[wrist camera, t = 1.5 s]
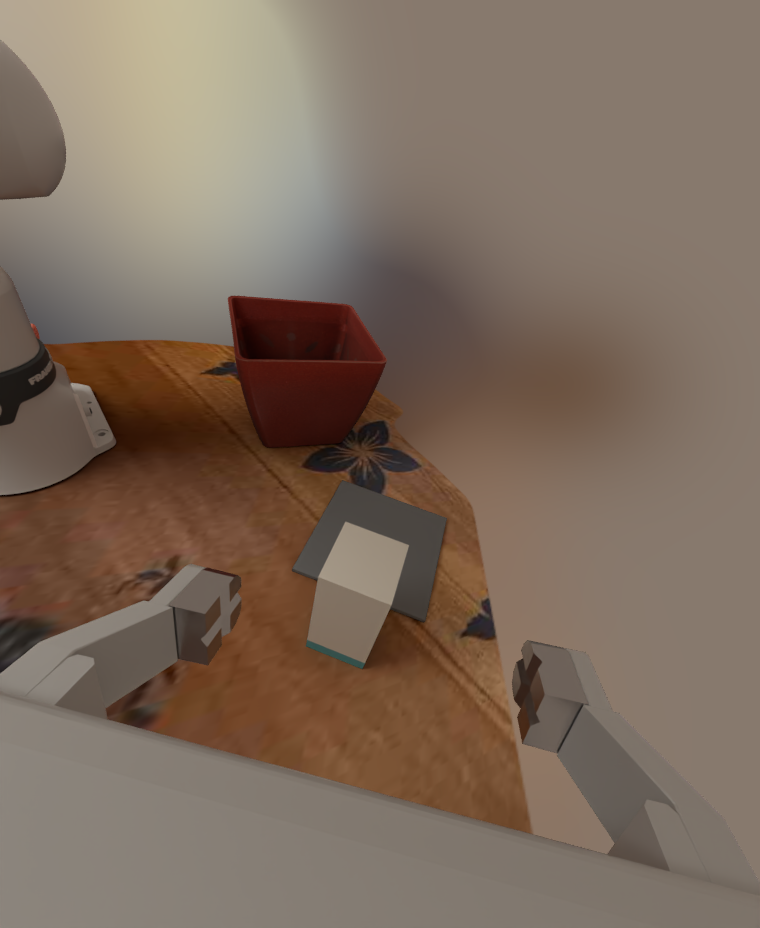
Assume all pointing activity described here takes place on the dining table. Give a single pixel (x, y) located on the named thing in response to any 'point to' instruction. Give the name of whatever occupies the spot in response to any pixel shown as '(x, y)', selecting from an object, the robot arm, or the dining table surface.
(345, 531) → the cream block
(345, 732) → the dining table surface
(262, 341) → the plant pot
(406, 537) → the mat
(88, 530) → the dining table surface
